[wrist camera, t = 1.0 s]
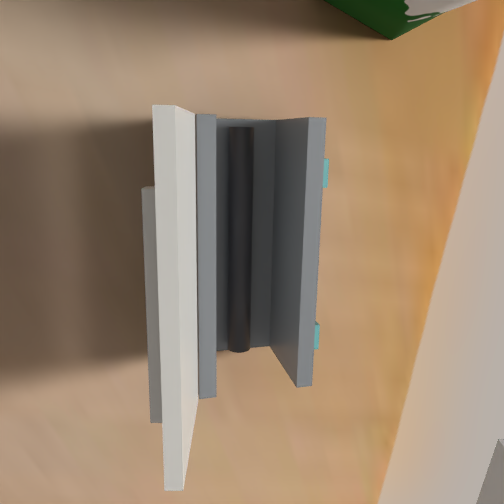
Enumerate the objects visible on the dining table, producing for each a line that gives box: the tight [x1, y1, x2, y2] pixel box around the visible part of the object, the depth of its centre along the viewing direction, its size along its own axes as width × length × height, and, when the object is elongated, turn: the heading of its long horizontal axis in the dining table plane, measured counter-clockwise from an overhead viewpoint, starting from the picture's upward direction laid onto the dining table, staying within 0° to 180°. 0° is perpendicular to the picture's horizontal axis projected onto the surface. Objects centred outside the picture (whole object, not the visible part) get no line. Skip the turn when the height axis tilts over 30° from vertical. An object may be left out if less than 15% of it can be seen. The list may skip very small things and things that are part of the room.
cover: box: [141, 105, 198, 491], centre depth 22 cm, size 16×7×1 cm
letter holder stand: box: [195, 114, 329, 399], centre depth 30 cm, size 16×8×7 cm, turn 179°
